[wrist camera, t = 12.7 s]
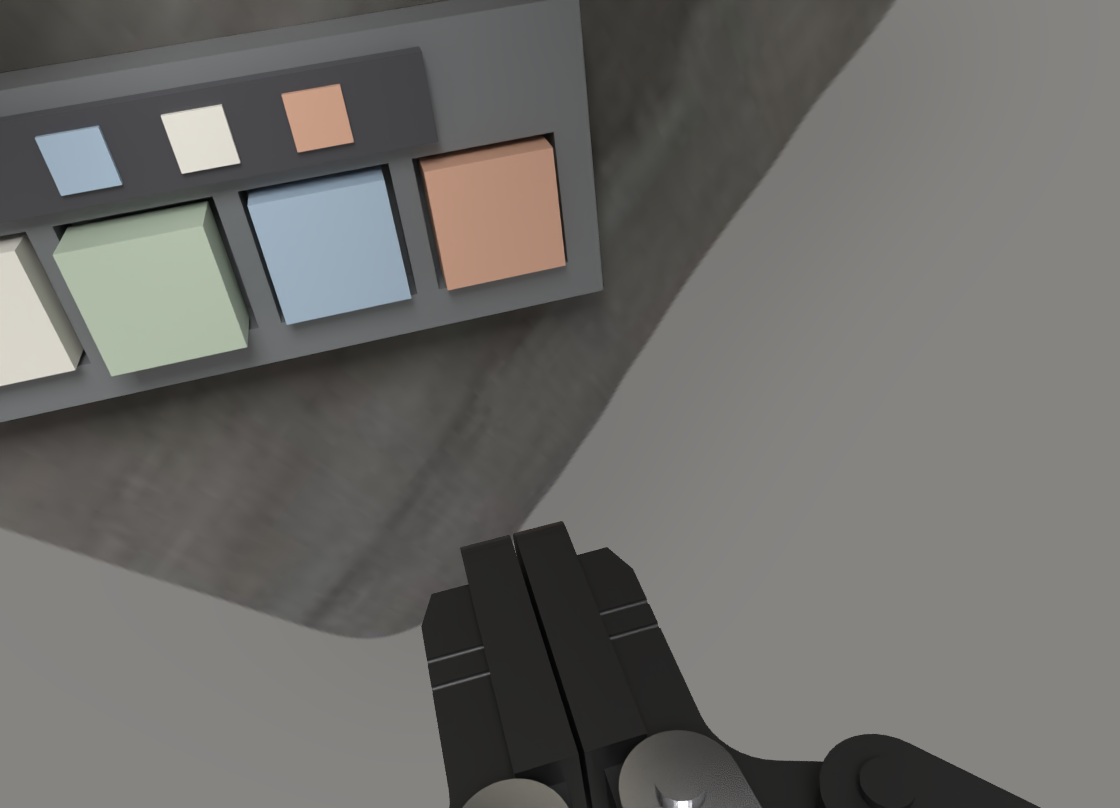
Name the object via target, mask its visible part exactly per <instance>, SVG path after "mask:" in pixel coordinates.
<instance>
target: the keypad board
mask: <svg viewBox="0 0 1120 808" xmlns="http://www.w3.org/2000/svg"><path fill="white" fill-rule="evenodd" d="M540 134H542V135H543V136H544V137H545V139H546V140H547V141H548V142H549V144H550V145H551V146H552V147H553V155H554V164H555V173H556V182H557V191H558V200H559V209H560V218H561V227H562V237H563V246H564V255H565V264H566V265H565V266H561V267H556V268H551V269H547V270H542V271H537V272H532V273H528V274H523V275H518V276H514V277H509V278H504V279H500V280H495V281H490V282H486V283H481V284H476V285H471V286H467V287H462V288H457V289H453V290H447V287H446V284H445V281H444V278H443V275H442V272H441V269H440V267H439V262H438V258H437V253H436V248H435V243H434V238H433V233H432V228H431V223H430V218H429V213H428V208H427V203H426V198H425V194H424V189H423V184H422V179H421V174H420V169H419V164H418V159H417V158H418V157H423V156H429V155H434V154H439V153H445V152H450V151H455V150H461V149H466V148H471V147H476V146H482V145H487V144H492V143H498V142H503V141H508V140H514V139H519V138H524V137H529V136H535V135H540ZM376 165H380V166H381V170H382V173H383V177H384V181H385V185H386V190H387V194H388V198H389V203H390V207H391V212H392V216H393V220H394V225H395V229H396V233H397V238H398V242H399V246H400V251H401V255H402V259H403V264H404V268H405V273H406V277H407V281H408V286H409V290H410V294H411V299H406V300H401V301H396V302H392V303H387V304H382V305H378V306H373V307H368V308H364V309H359V310H354V311H350V312H345V313H340V314H336V315H331V316H326V317H321V318H317V319H312V320H307V321H303V322H298V323H293V324H289V325H287V324H286V321H285V318H284V315H283V312H282V309H281V306H280V303H279V300H278V297H277V294H276V291H275V288H274V285H273V282H272V279H271V276H270V273H269V270H268V267H267V264H266V261H265V257H264V254H263V251H262V248H261V245H260V242H259V239H258V236H257V233H256V230H255V227H254V224H253V221H252V218H251V215H250V212H249V209H248V196H249V189H254V188H259V187H265V186H270V185H275V184H280V183H286V182H291V181H296V180H302V179H307V178H312V177H318V176H323V175H328V174H333V173H339V172H344V171H349V170H355V169H360V168H365V167H371V166H376ZM204 201H208V202H209V205H210V208H211V211H212V214H213V216H214V219H215V222H216V225H217V228H218V230H219V233H220V236H221V239H222V242H223V244H224V247H225V250H226V253H227V256H228V258H229V261H230V264H231V267H232V270H233V272H234V275H235V278H236V281H237V284H238V286H239V289H240V292H241V295H242V298H243V300H244V303H245V306H246V309H247V312H248V314H249V331H248V344H247V347H246V348H241V349H237V350H232V351H227V352H223V353H218V354H213V355H209V356H204V357H200V358H195V359H190V360H186V361H181V362H176V363H172V364H167V365H162V366H158V367H153V368H149V369H144V370H139V371H135V372H130V373H125V374H121V375H116V376H111V374H110V372H109V370H108V368H107V366H106V364H105V362H104V360H103V358H102V356H101V354H100V352H99V350H98V348H97V346H96V343H95V341H94V339H93V337H92V335H91V333H90V331H89V329H88V327H87V325H86V323H85V321H84V319H83V317H82V315H81V313H80V310H79V308H78V306H77V304H76V302H75V300H74V298H73V296H72V294H71V292H70V290H69V288H68V286H67V284H66V282H65V280H64V278H63V275H62V273H61V271H60V269H59V267H58V265H57V263H56V261H55V259H54V257H53V253H54V251H55V250H56V248H57V246H58V244H59V242H60V240H61V238H62V237H63V235H64V233H65V231H66V229H67V227H72V226H78V225H83V224H88V223H94V222H99V221H104V220H109V219H115V218H120V217H125V216H130V215H136V214H141V213H146V212H152V211H157V210H162V209H167V208H173V207H178V206H183V205H189V204H194V203H199V202H204ZM21 232H26V233H27V235H28V237H29V239H30V241H31V243H32V245H33V247H34V249H35V251H36V253H37V255H38V258H39V260H40V262H41V264H42V266H43V268H44V270H45V272H46V274H47V276H48V278H49V280H50V282H51V284H52V286H53V288H54V290H55V292H56V294H57V296H58V298H59V300H60V302H61V304H62V306H63V308H64V310H65V312H66V314H67V316H68V318H69V320H70V322H71V324H72V326H73V328H74V330H75V332H76V334H77V336H78V338H79V340H80V342H81V344H82V346H83V348H84V349H83V352H82V355H81V357H80V360H79V362H78V365H77V368H76V370H74V371H69V372H64V373H60V374H55V375H50V376H46V377H41V378H36V379H32V380H27V381H22V382H18V383H13V384H8V385H3V386H0V422H4V421H9V420H14V419H18V418H23V417H27V416H32V415H36V414H41V413H46V412H50V411H55V410H59V409H64V408H68V407H73V406H77V405H82V404H87V403H91V402H96V401H100V400H105V399H109V398H114V397H119V396H123V395H128V394H132V393H137V392H141V391H146V390H150V389H155V388H160V387H164V386H169V385H173V384H178V383H182V382H187V381H192V380H196V379H201V378H205V377H210V376H214V375H219V374H223V373H228V372H233V371H237V370H242V369H246V368H251V367H255V366H260V365H265V364H269V363H274V362H278V361H283V360H287V359H292V358H296V357H301V356H306V355H310V354H315V353H319V352H324V351H328V350H333V349H338V348H342V347H347V346H351V345H356V344H360V343H365V342H369V341H374V340H379V339H383V338H388V337H392V336H397V335H401V334H406V333H411V332H415V331H420V330H424V329H429V328H433V327H438V326H442V325H447V324H452V323H456V322H461V321H465V320H470V319H474V318H479V317H484V316H488V315H493V314H497V313H502V312H506V311H511V310H515V309H520V308H525V307H529V306H534V305H538V304H543V303H547V302H552V301H557V300H561V299H566V298H570V297H575V296H579V295H584V294H588V293H593V292H598V291H602V290H603V281H602V269H601V257H600V245H599V233H598V221H597V209H596V197H595V185H594V173H593V161H592V149H591V137H590V125H589V113H588V101H587V89H586V77H585V65H584V53H583V41H582V29H581V17H580V5H579V0H449V1H443V2H436V3H430V4H424V5H418V6H412V7H406V8H399V9H393V10H387V11H381V12H375V13H368V14H362V15H356V16H350V17H344V18H338V19H331V20H325V21H319V22H313V23H307V24H301V25H294V26H288V27H282V28H276V29H270V30H264V31H257V32H251V33H245V34H239V35H233V36H226V37H220V38H214V39H208V40H202V41H196V42H189V43H183V44H177V45H171V46H165V47H159V48H152V49H146V50H140V51H134V52H128V53H122V54H115V55H109V56H103V57H97V58H91V59H84V60H78V61H72V62H66V63H60V64H54V65H47V66H41V67H35V68H29V69H23V70H17V71H10V72H4V73H0V236H5V235H10V234H15V233H21Z"/></svg>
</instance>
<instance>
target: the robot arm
mask: <svg viewBox="0 0 1120 808" xmlns="http://www.w3.org/2000/svg"><path fill="white" fill-rule="evenodd" d="M513 539H514V545H515V550H516V553H515V550H514V546H513V543H512V540H511V538H510V535H507V536H503V537H499V538H495V539H492V540H488V541H484V542H480V543H476V544H472V545H468V546H465V547H461V548H460V549H461V554H462V558H463V562H464V566H465V571H466V575H467V579H468V583H469V584H468V585H464V586H461V587H457V588H453V589H449V590H446V591H442V592H438V593H434V594H432V595H431V598H430V601H429V604H428V607H427V611H426V614H425V617H424V620H423V623H422V626H421V627H422V632H423V639H424V645H425V651H426V657H427V661H428V669H429V675H430V681H431V686H432V691H433V698H434V704H435V710H436V716H437V722H438V728H439V734H440V740H441V746H442V752H443V758H444V764H445V770H446V776H447V782H448V787H449V797H450V807H449V808H1040V807H1038V806H1036V805H1034V804H1032V803H1030V802H1028V801H1026V800H1024V799H1022V798H1020V797H1018V796H1015V795H1014V794H1012V793H1010V792H1008V791H1006V790H1003V789H1001V788H999V787H997V786H995V785H993V784H991V783H989V782H987V781H985V780H983V779H981V778H979V777H977V776H975V775H973V774H971V773H969V772H967V771H965V770H963V769H961V768H958V767H956V766H955V765H953V764H950V763H948V762H946V761H944V760H942V759H940V758H938V757H936V756H934V755H932V754H930V753H928V752H926V751H924V750H922V749H920V748H918V747H916V746H914V745H912V744H910V743H907V742H905V741H903V740H900V739H897V738H894V737H890V736H886V735H878V734H864V735H859V736H854V737H851V738H848V739H846V740H844V741H842V742H841V743H839V744H838V745H836V746H835V747H834V748H833V749H832V750H831V751H830V752H829V754H828V755H827V756H826V758H825V759H824V762H817V761H816V762H815V761H776V760H765V759H760V758H755V757H751V756H749V755H746V754H743V753H740V752H739V751H736V750H734V749H733V748H731V747H729V746H728V745H726V744H725V743H724V742H722V741H721V740H720V739H719V738H718V737H717V736H716V735H714V734H713V733H712V732H711V730H710V729H709V728H708V726H707V725H706V724H705V722H704V720H703V719H702V717H701V715H700V713H699V711H698V708H697V706H696V704H695V702H694V700H693V698H692V696H691V693H690V691H689V689H688V687H687V685H686V683H685V680H684V678H683V676H682V674H681V672H680V670H679V667H678V665H677V663H676V661H675V659H674V657H673V655H672V653H671V650H670V648H669V646H668V644H667V642H666V639H665V637H664V635H663V633H662V631H661V629H660V628H659V627H658V623H657V620H656V618H655V616H654V614H653V611H652V609H651V607H650V605H649V604H648V603H647V599H646V596H645V594H644V592H643V590H642V588H641V586H640V583H639V581H638V579H637V577H636V575H635V573H634V571H633V569H632V568H631V567H630V566H629V565H628V564H626V563H625V562H624V561H623V560H622V559H620V558H619V557H618V556H617V555H616V554H614V553H613V552H612V551H611V550H610V549H609V548H607V547H606V548H602V549H599V550H595V551H591V552H587V553H584V554H580V555H577V554H576V552H575V549H574V547H573V544H572V542H571V540H570V537H569V534H568V532H567V530H566V527H565V525H564V523H563V522H562V521H560V522H557V523H552V524H548V525H545V526H541V527H537V528H533V529H529V530H525V531H521V532H518V533H514V534H513ZM516 555H517V556H516Z"/></svg>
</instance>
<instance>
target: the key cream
mask: <svg viewBox="0 0 1120 808" xmlns="http://www.w3.org/2000/svg"><path fill="white" fill-rule="evenodd" d="M83 349H84V348H83V346H82V344H81V342H80V340H79V338H78V336H77V334H76V332H75V330H74V328H73V326H72V324H71V322H70V320H69V318H68V316H67V314H66V312H65V310H64V308H63V306H62V304H61V302H60V300H59V298H58V296H57V294H56V292H55V290H54V288H53V286H52V284H51V282H50V280H49V278H48V276H47V274H46V272H45V270H44V268H43V266H42V264H41V262H40V260H39V258H38V255H37V253H36V251H35V249H34V247H33V245H32V243H31V241H30V239H29V237H28V235H27V233H26V232H21V233H15V234H10V235H5V236H0V386H3V385H8V384H13V383H18V382H22V381H27V380H32V379H36V378H41V377H46V376H50V375H55V374H60V373H64V372H69V371H74V370H76V368H77V365H78V362H79V360H80V357H81V355H82V352H83Z"/></svg>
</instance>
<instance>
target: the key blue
mask: <svg viewBox="0 0 1120 808" xmlns="http://www.w3.org/2000/svg"><path fill="white" fill-rule="evenodd" d="M248 209H249V212H250V215H251V218H252V221H253V224H254V227H255V230H256V233H257V236H258V239H259V242H260V245H261V248H262V251H263V254H264V257H265V261H266V264H267V267H268V270H269V273H270V276H271V279H272V282H273V285H274V288H275V291H276V294H277V297H278V300H279V303H280V306H281V309H282V312H283V315H284V318H285V321H286V324H287V325H289V324H293V323H298V322H303V321H307V320H312V319H317V318H321V317H326V316H331V315H336V314H340V313H345V312H350V311H354V310H359V309H364V308H368V307H373V306H378V305H382V304H387V303H392V302H396V301H401V300H406V299H411V294H410V290H409V286H408V281H407V277H406V273H405V268H404V264H403V259H402V255H401V251H400V246H399V242H398V238H397V233H396V229H395V225H394V220H393V216H392V212H391V207H390V203H389V198H388V194H387V190H386V185H385V181H384V177H383V173H382V170H381V166H380V165H376V166H371V167H365V168H360V169H355V170H349V171H344V172H339V173H333V174H328V175H323V176H318V177H312V178H307V179H302V180H296V181H291V182H286V183H280V184H275V185H270V186H265V187H259V188H254V189H249V196H248Z"/></svg>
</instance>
